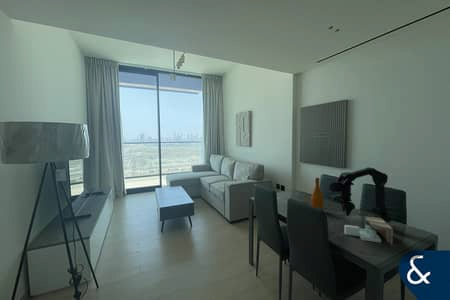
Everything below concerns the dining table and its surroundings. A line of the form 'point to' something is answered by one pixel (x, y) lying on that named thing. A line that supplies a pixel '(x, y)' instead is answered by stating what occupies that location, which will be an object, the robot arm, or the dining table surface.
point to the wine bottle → (317, 196)
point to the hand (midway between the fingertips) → (345, 213)
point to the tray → (362, 233)
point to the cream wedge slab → (380, 228)
